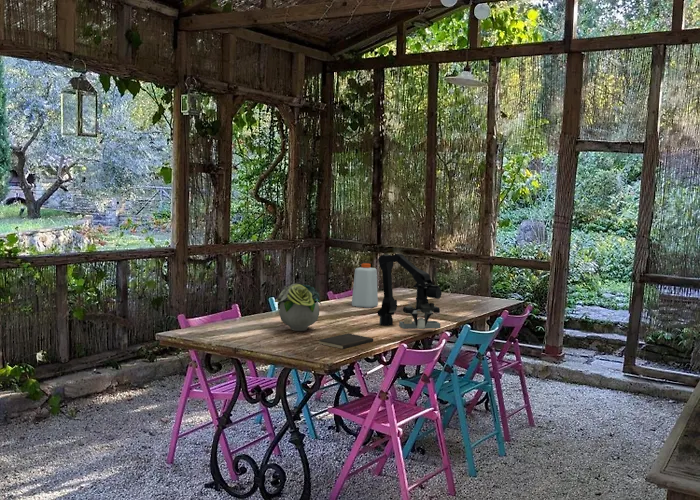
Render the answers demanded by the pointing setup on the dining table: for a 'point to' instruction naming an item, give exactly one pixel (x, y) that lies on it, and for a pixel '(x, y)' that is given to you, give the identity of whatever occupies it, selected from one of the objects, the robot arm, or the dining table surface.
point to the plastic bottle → (365, 287)
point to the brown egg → (407, 320)
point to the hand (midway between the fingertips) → (420, 325)
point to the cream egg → (421, 323)
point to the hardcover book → (345, 341)
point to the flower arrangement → (298, 306)
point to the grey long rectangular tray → (413, 326)
